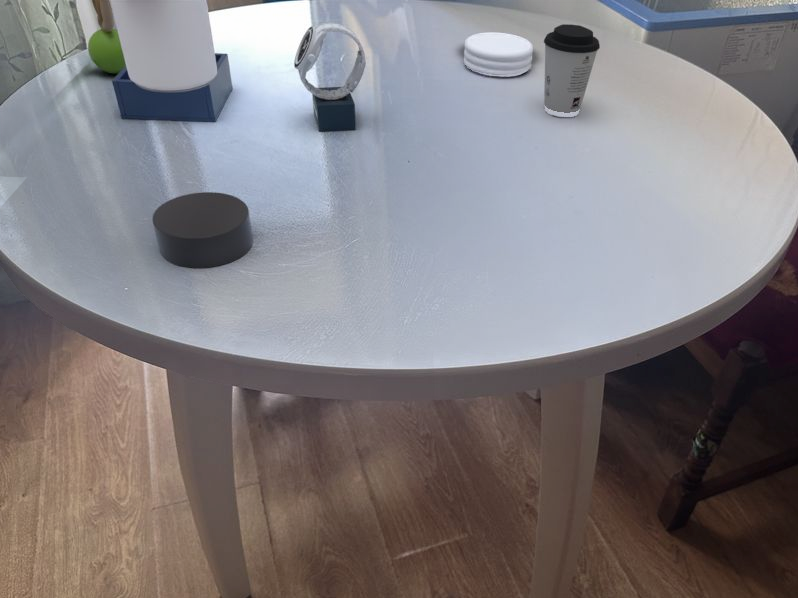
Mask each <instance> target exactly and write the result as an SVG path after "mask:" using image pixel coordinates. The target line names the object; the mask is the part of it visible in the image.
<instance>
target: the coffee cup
mask: <svg viewBox="0 0 798 598" xmlns="http://www.w3.org/2000/svg"><path fill="white" fill-rule="evenodd" d="M543 43H544V44H545V45H544V46H545V48H544V94H543V98H544V99H543V106H544V105H545V106H546V107H547V108H548V109H551V110H553V111H557V112H564V113H570V112H576V111H578V110H579V109H580V110H581V109H582V104H583V101H584V97H585V94H586V92H587V91H586V90H587V87H588V84H589V80H590V77H591V73H592V70H593V66H594V63H595V60H596V56H597V53H598V50H599V49H601V45H600V41H599V39H598V38H597V37H595V36H594V32H593V30H591V29H590V28H587V27H585V26H583V25H578V24H569V23H568V24H567V23H566V24H559V25H557V26H556V27H554V29H553V31H551V32H549V33H547V34H546V36H545V37H544V39H543Z"/></svg>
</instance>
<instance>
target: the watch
mask: <svg viewBox="0 0 798 598" xmlns="http://www.w3.org/2000/svg"><path fill="white" fill-rule="evenodd" d="M331 32H332V33H341V34H343V35H346V36H347V37H349V38H350V39H352V40H353V41H354V42H355V44H356V45H357V46H358V50H357V56H356V59H355V62H354V65H353V68H352V70H351V72H350V74H349V76H348V77H347V78H346V82H345V84H344V85H343V86H327V87H325V86H324V87H316V86H314V85H313V84H312V83H311V82H309V80H308V79H307V78H306V77H307V72H309V71H310V70H311V69H312V68H313V67H314V65H315V64H316V61H317V60H318V58H319V56H320V53H321V51H322V47H323V43H324V39H325V38H326V36H327V33H331ZM365 55H366V54H365V51H364V48H363V45H362V43H361V41H360V39H359V38H358V36H357V35H356V34H355V32H353V31H352V30H351V28H348V27H347V26H345V25H343V24H341V23H338V22H331V21H329V22H322V23H318V24H317V25H316V26H312V25H311V26H309V27H308V28H307V30H306V31H305V33H304V34H303V37H302V38H301V40H300V42H299V45H298V48H297V50H296V53H295V57H294V61H293V62H294V63H293V64H294V65H293V67H294V68H295V69H296V70H297V71H298V75H299V78H300V81H301V83H302V84H303V86H304V87H305V89H306V90H307V91H309V93H310V94H312V95H311V97H312V109H313V110H312V111H313V115H314V119H315V123H316V126H317V130H318V132H319V133H320V132H321V133H322V132H340V131H342V132H343V131H355V130H356V129H357V127H356V104H355V101H354V98H353V96H352V93H354V91H355V90H356V88H357V87H358V85H359V83H360V81H361V80H362V77H363V75H364V72H365V69H366V64H367V62H366V61H367V60H366V56H365Z"/></svg>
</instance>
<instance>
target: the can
mask: <svg viewBox="0 0 798 598" xmlns="http://www.w3.org/2000/svg"><path fill="white" fill-rule="evenodd" d="M109 1H110V4H111V8H112V13H113V19H114V23H115V26H116V30H117V31H118V35H119V39H120V43H121V47H122V51H123V55H124V59H125V63H126V67H127V71H128V75H129V78H130V79H131V80H132V81H133V82H134V83H135V84H136V85H137V86H139V87H141V88H143V89H146V90H150V91H155V92H185V91H191V90H195V89H199V88H202V87H205V86H207V85H209V84H210V83H211V82H212V81H213V80H214V78H215V76H216V75H217V65H216V58H215V53H216V52H215V51H216V50H215V46H214V45H215V44H214V40H213V32H212V27H211V20H210V14H209V7H208V2H207V0H109Z"/></svg>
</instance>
